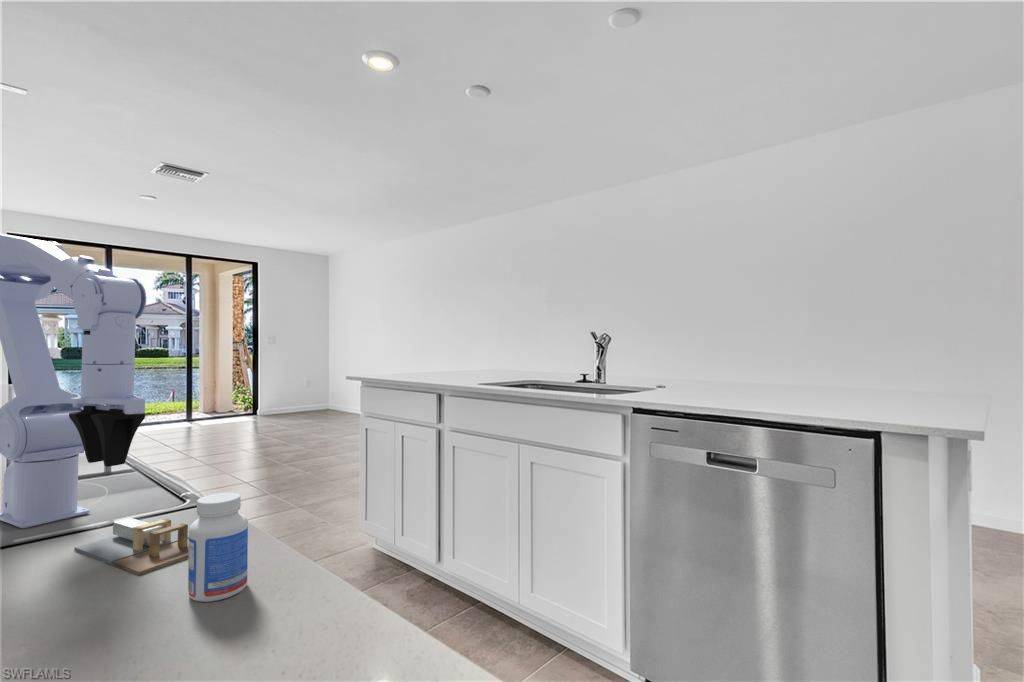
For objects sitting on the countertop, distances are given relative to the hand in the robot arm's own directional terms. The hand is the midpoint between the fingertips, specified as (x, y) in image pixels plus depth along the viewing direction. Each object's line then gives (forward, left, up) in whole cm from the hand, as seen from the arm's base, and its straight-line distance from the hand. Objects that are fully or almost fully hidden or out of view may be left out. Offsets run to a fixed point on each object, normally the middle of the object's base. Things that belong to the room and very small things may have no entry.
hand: (106, 463), depth 70 cm
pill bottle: (+30, -3, -10) cm, 31 cm away
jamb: (+16, 0, -9) cm, 18 cm away
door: (+8, 0, -9) cm, 13 cm away
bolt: (+8, 0, -9) cm, 13 cm away
